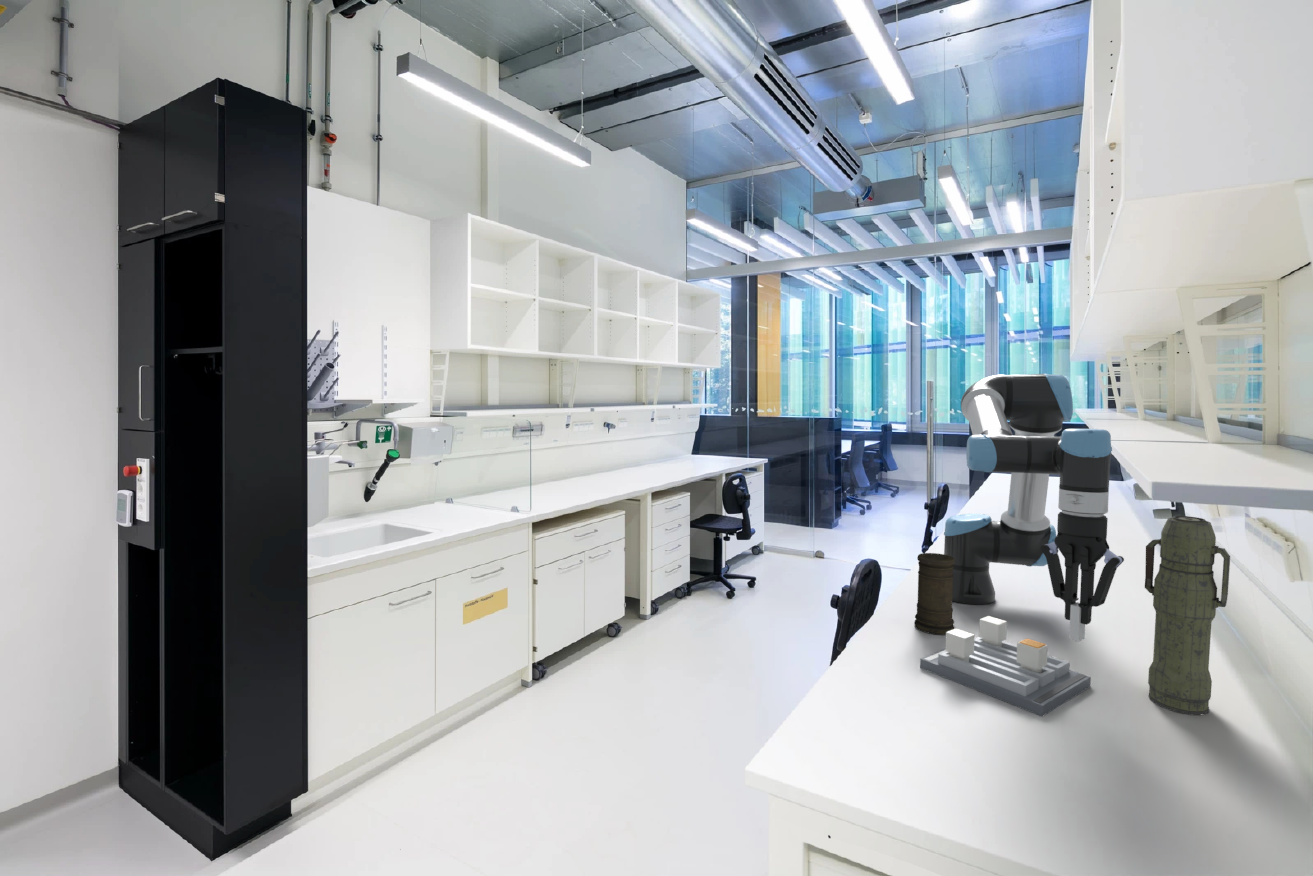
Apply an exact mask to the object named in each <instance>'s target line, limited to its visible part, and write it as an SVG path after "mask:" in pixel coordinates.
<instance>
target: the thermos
mask: <svg viewBox="0 0 1313 876" xmlns="http://www.w3.org/2000/svg"><path fill="white" fill-rule="evenodd" d="M1216 540H1217V537H1216V533H1215V530H1214V528H1213V525H1212V522H1210V521H1208V520H1206V518H1202V517H1196V516H1188V515H1187V516H1186V515H1174V516H1172V517H1168V518H1167V519H1166V521H1165V522H1164V525H1163V527H1162V529H1161V533H1160V538H1159V539H1157V538H1156V539H1152V540H1151V541H1150V542H1148V544H1147V545H1145V576H1144V577H1145V578H1144V589H1145V590H1147V592H1148V593H1150V594H1151V596H1153V598H1152V599H1153V600H1152V607H1153V609H1154V611H1155V622H1154V638H1153V639H1154V640H1153V641H1154V642H1153V655H1152V656H1153V658H1152V662H1151V664H1150V666H1149V668H1148V680H1147V683H1148V686H1149V690H1148V691H1149V692H1148V697H1147V698H1149V700H1150V701H1151V702H1153V704H1155V705H1157V706H1159V707H1160V708H1164V709H1167V710H1169V711H1172V712H1176V713H1180V714H1183V715H1184V714H1185V715H1189V714H1190V716H1201V715H1200V714H1204V715H1207V714H1208V713H1209V711H1210V710H1209V709H1210V706H1209V703H1210V700H1211V699H1212V698H1211V697H1212V687H1213V686H1212V683H1213V680H1212V677H1211V672H1210V670H1209V669H1210V668H1209V667H1210V654H1211V653H1210V651H1211V650H1210V649H1211V637H1212V636H1211V634H1212V622H1213V621H1214V619H1215V618H1216V614H1217V612H1216V611H1217V609H1218V608H1219V607H1221V608H1225V607H1226V606H1227V602H1228V595H1229V583H1230V582H1229V581H1230V569H1231V568H1230V566H1231V565H1230V564H1231V555H1230V554H1229V553H1228V551H1227V550H1226V548H1223V547H1219V545H1216V543H1217V542H1216ZM1157 545H1158V546H1160V548H1159V549H1160V550H1159V557H1160V558H1161V559H1160V564H1159V566H1158V567H1159V568H1158V572H1157V574H1156V576H1155V577H1154V567H1155V566H1154V565H1155V564H1154V563H1155V549H1156V548H1155V547H1156V546H1157ZM1216 554H1220V555H1221V557H1222V558H1223V561H1222V562H1223V564H1222V579H1221V595H1220V598H1219V597H1218V596H1217V595H1218V586H1217V583H1216V581H1215V578H1214V570H1213V567H1214V566H1213V565H1214V564H1215V557H1216ZM1206 713H1207V714H1206ZM1191 714H1193V715H1191ZM1198 714H1199V715H1198Z"/></svg>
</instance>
